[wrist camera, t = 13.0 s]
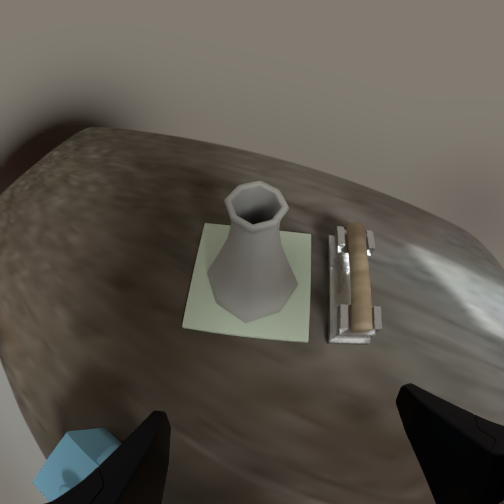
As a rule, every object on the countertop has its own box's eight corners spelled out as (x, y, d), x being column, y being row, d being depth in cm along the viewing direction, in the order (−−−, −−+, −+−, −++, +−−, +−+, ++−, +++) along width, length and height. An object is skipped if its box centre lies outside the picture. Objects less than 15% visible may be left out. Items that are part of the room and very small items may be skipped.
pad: (307, 342, 21) (308, 341, 20) (183, 327, 21) (181, 326, 21) (310, 236, 26) (310, 234, 25) (205, 225, 26) (204, 223, 26)
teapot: (111, 531, 10) (72, 560, 4) (62, 487, 12) (13, 501, 5) (177, 463, 15) (145, 491, 9) (118, 414, 17) (66, 417, 10)
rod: (367, 332, 19) (375, 327, 17) (348, 332, 19) (355, 326, 17) (360, 233, 23) (366, 223, 22) (344, 231, 23) (349, 221, 22)
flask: (192, 271, 23) (164, 193, 14) (259, 229, 25) (266, 143, 17) (243, 339, 20) (241, 295, 12) (312, 287, 23) (351, 216, 14)
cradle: (367, 344, 20) (383, 336, 18) (327, 343, 21) (339, 335, 18) (361, 242, 25) (372, 225, 23) (327, 238, 25) (335, 220, 23)
